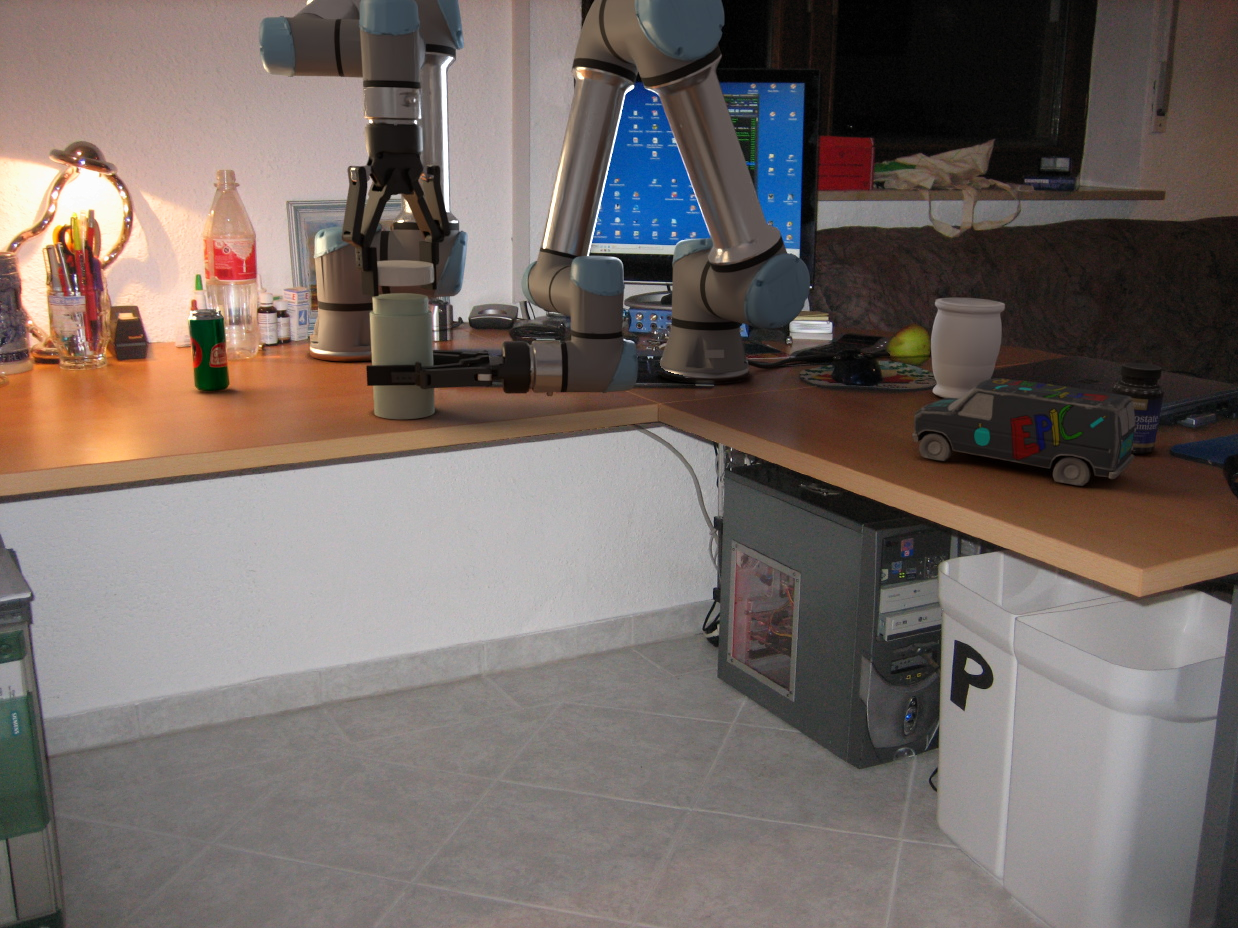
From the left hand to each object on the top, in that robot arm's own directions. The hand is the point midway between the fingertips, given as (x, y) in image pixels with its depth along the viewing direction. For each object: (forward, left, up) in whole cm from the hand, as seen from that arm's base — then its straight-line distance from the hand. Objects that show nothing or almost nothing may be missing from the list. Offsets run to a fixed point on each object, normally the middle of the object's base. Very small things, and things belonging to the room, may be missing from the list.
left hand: (400, 291), depth 149 cm
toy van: (+1, +83, -17) cm, 85 cm away
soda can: (-4, -34, -17) cm, 38 cm away
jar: (-38, +78, -17) cm, 88 cm away
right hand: (+2, -4, -11) cm, 12 cm away
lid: (0, 0, +3) cm, 3 cm away
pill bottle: (-11, +98, -17) cm, 100 cm away
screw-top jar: (0, 0, -17) cm, 17 cm away
